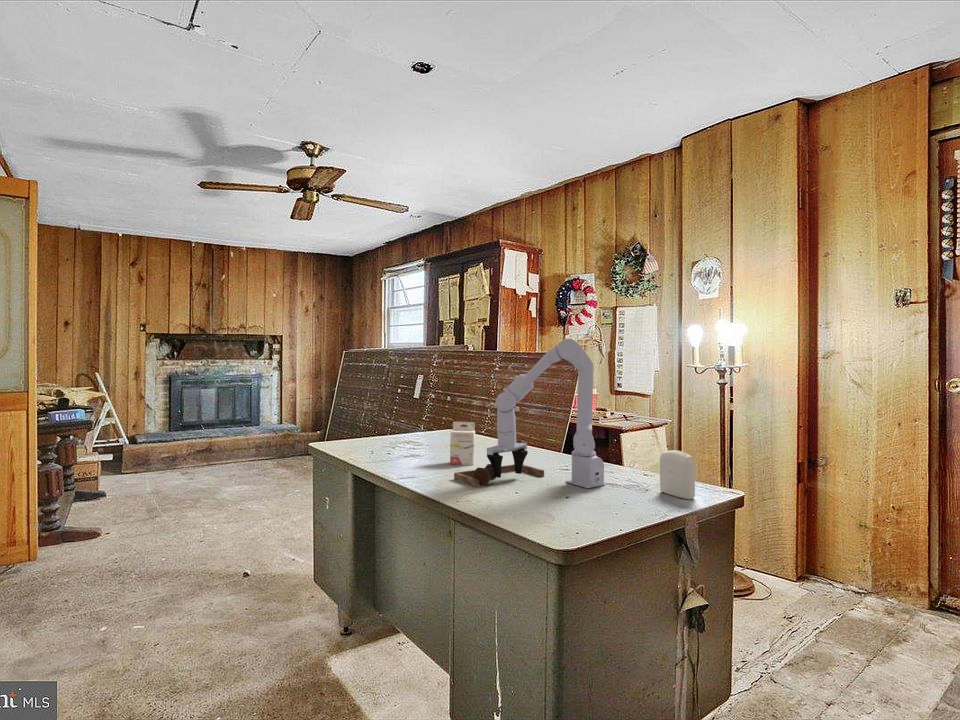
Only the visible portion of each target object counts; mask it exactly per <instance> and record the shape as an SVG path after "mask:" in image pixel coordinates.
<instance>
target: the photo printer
mask: <svg viewBox="0 0 960 720" xmlns="http://www.w3.org/2000/svg"><path fill="white" fill-rule="evenodd" d="M659 465H660V466H659V490H660V492H661V493H663V492H664V494H668V495H671V496H673V497H676V498H677V497H678V498H681V499H684V500H693V499H694V498H695V497H696V486H695V485H696V483H695V482H696V481H695V480H696V478H695V477H696V476H695V475H696V474H695V472H696V469H695V467H696V464H695V458H694V457H693V456H692V455H690V454H688V453H686V452H685V451H681V450H676V449H674V450H673V449H672V450H671V449H670V450H665V451H662V452H661V454H660V457H659Z"/></svg>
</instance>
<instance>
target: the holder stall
mask: <svg viewBox="0 0 960 720" xmlns="http://www.w3.org/2000/svg"><path fill="white" fill-rule="evenodd" d="M475 470H476V469H473V470H465V471H464V470H463V471H458V472H454V473H453V476H454V477H453V479H454V480H455V479H456V480H455V481H458V480H459V481H458V482H460V481H461V482H460V483H463V482H464V483H463V484H466V485H468V484H469V486H471V485H472V487H474V488H479V487H480V486H479V480H477V479H474V478H472V475H473V473H474V472H475ZM511 471H512V472H515V468H514V464H509V465H501V474H504V473H505V472H506V473H511ZM523 471H524V472H523ZM521 472H523V473H526V472H528V473H527V474H530V473H531V474H530V475H533V474H535V475H534V476H537V475H538V477H540V476H544V477H545V469H541V468H537V467H533V466H530V465H526V464H523V466H522V471H521Z"/></svg>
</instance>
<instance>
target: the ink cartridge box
mask: <svg viewBox="0 0 960 720" xmlns="http://www.w3.org/2000/svg"><path fill="white" fill-rule="evenodd" d="M475 424H476V423H475V422H472V421H469V422H468V421H453V422H452V430H451V431H450V446H449V447H450V449H449V451H450V453H449V463H450V464H449V465H453V464H454V465H455V466H456V465H459V466H474V465H475V463H476V431H475V429H476V425H475ZM463 425H464V426H463Z"/></svg>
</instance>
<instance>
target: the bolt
mask: <svg viewBox="0 0 960 720" xmlns="http://www.w3.org/2000/svg"><path fill="white" fill-rule="evenodd" d="M474 470H475V472H474V473H473V475H472V478H474V479H477V480H479V485H480V486H481V487H486V486H488V484H489V483H490V480H493V478H494V479H497V477H495V474H494V471H493V468H492V465H491V463H488V464H486V465H485V467H477V468H475V469H474ZM480 486H479V487H480Z"/></svg>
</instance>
